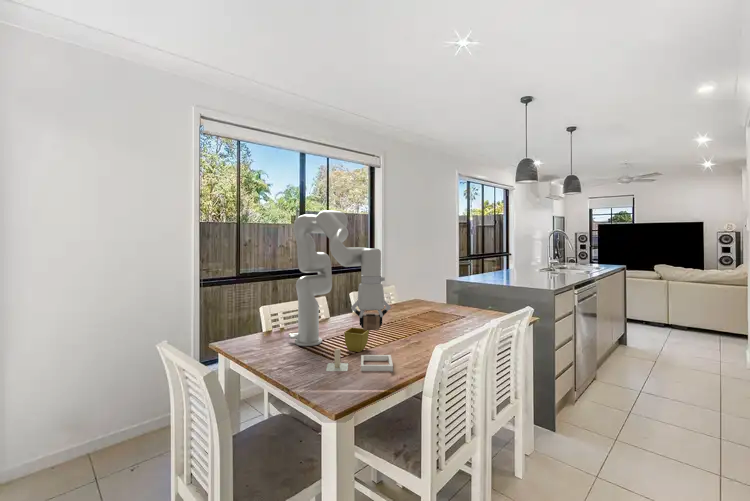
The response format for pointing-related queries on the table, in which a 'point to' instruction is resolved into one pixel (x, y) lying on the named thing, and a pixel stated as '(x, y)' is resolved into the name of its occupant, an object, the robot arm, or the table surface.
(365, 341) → the flower pot
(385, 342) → the table surface
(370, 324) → the napkin ring
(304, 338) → the robot arm
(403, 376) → the table surface
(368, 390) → the table surface
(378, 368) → the light grey square frame
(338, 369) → the peg stand
